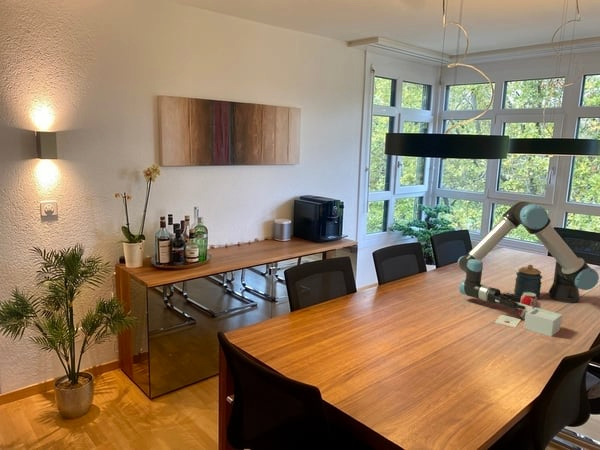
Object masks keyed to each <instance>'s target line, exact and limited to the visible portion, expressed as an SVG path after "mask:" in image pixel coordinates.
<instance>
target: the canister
mask: <svg viewBox="0 0 600 450" xmlns="http://www.w3.org/2000/svg"><path fill="white" fill-rule="evenodd" d="M515 274H516V277H515V279H514V280H515V284H514V288H513V289H514V290H513V292H514V294H513V295H518V296H522V294H523V292H531V293H534V294H536V297H537V300H538V299H539V298H540V296H541V290H542V289H541V287H542V278H543V276H542V275H541V274H542V272H541V270H539V268H537V267H534V266H533V265H532V264H528V265H527V266H523V267H522V266H521V267H520V268H518V271H517V272H516V273H515Z"/></svg>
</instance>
